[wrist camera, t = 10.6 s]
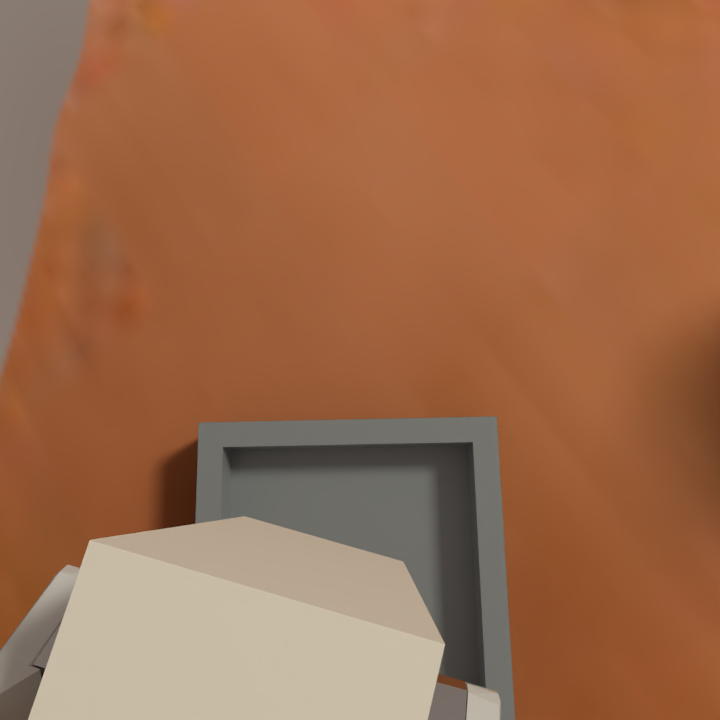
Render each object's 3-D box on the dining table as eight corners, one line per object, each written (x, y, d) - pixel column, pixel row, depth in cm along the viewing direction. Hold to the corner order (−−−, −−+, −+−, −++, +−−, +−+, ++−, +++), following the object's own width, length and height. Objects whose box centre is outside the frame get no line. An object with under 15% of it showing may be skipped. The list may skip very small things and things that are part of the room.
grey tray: (503, 722, 26) (516, 746, 24) (205, 725, 26) (187, 749, 24) (486, 423, 29) (496, 416, 26) (213, 429, 29) (198, 422, 26)
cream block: (359, 737, 15) (342, 1083, 6) (193, 686, 15) (-52, 947, 6) (403, 561, 16) (445, 644, 7) (244, 516, 16) (89, 539, 7)
